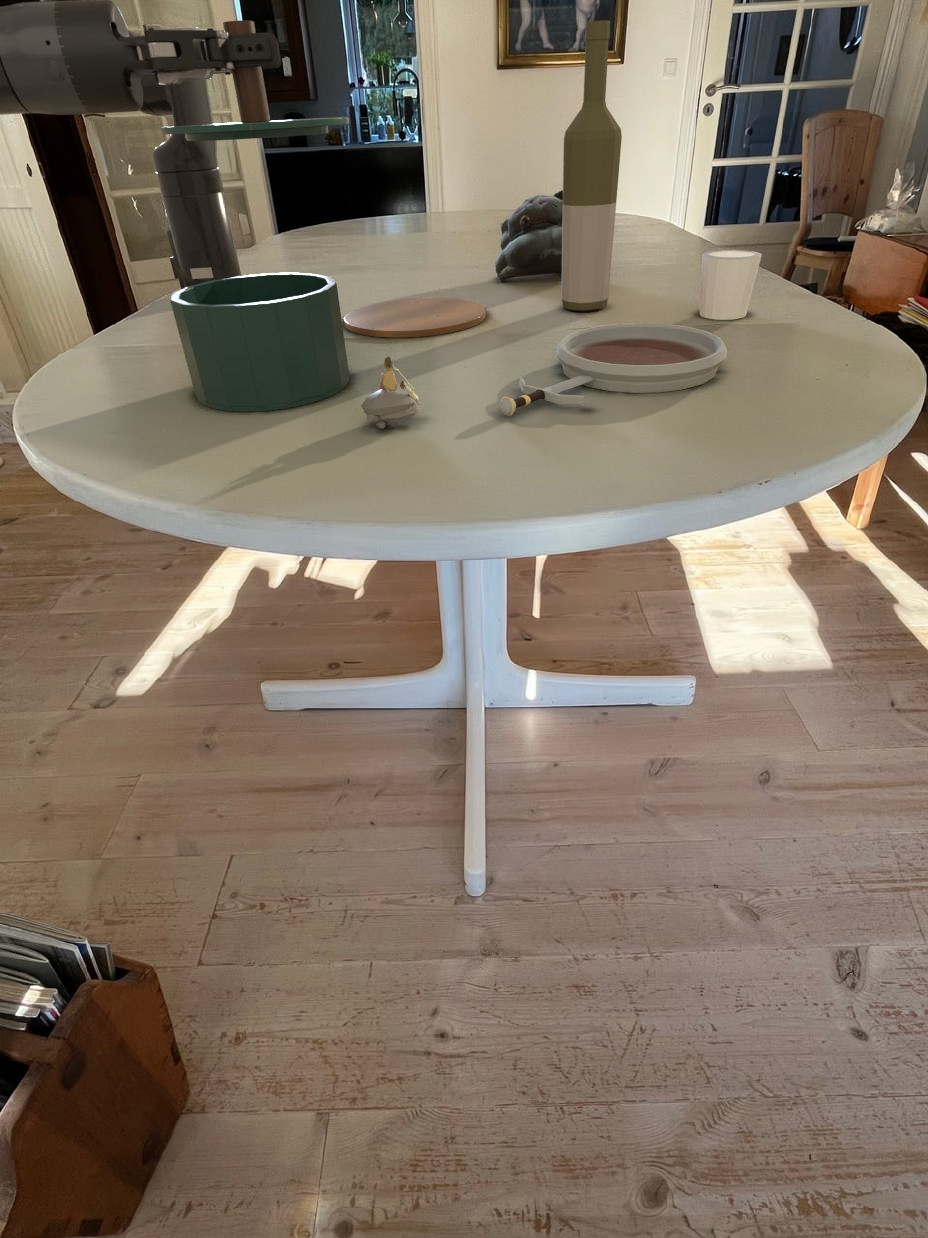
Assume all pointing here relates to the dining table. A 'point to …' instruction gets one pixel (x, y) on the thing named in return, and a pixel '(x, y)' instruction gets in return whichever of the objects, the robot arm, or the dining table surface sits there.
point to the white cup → (727, 283)
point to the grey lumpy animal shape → (532, 238)
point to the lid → (252, 108)
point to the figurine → (390, 399)
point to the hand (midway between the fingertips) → (277, 50)
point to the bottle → (590, 184)
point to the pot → (262, 340)
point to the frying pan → (629, 362)
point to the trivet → (415, 317)
